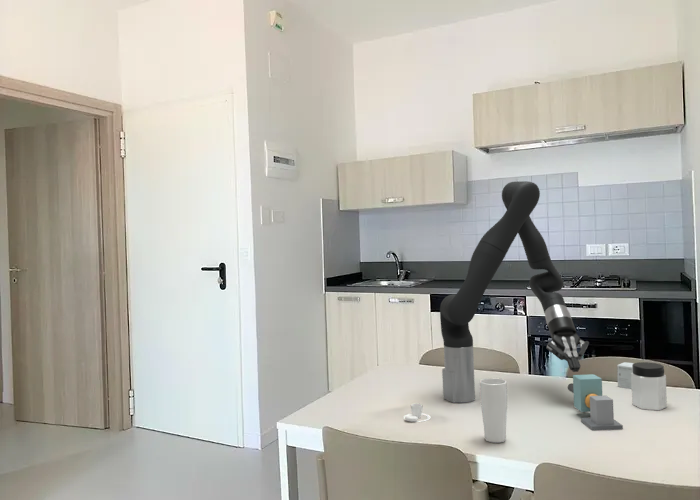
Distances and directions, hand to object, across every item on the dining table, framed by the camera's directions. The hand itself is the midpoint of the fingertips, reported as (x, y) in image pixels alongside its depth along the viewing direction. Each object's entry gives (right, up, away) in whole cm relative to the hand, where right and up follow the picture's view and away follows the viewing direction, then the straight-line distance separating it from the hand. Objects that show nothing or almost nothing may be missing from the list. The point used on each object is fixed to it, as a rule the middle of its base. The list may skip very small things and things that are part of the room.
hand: (576, 370), depth 162 cm
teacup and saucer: (-50, -14, -1) cm, 52 cm away
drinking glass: (-30, -13, -22) cm, 39 cm away
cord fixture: (+1, -11, -7) cm, 13 cm away
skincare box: (+26, -10, +20) cm, 35 cm away
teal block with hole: (+1, -9, -7) cm, 12 cm away
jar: (+21, -11, -1) cm, 24 cm away
